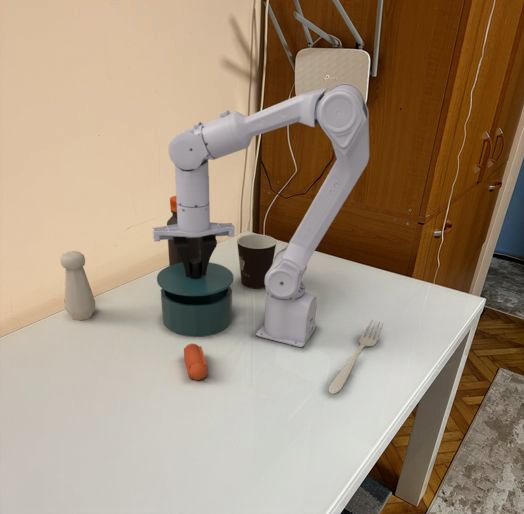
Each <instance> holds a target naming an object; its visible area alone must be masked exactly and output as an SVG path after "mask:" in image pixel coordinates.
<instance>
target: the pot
mask: <svg viewBox="0 0 524 514" xmlns="http://www.w3.org/2000/svg"><path fill="white" fill-rule="evenodd" d="M160 299H161V313H162V320H163V325H164V326H165V328H166V329H168V330H169V331H170V332H172V333H174V334H176V335H180V336H183V337H194V338H195V337H207V336H208V337H209V336H212V335H216V334H218V333H220V332H223V331H224V330H225V329H227V328H228V327H229V326H230V324H231V322H232V318H233V288H232V286H230V287H228V288H227V289H225V290H223V291H221V292H218V293H215V294H211V295H204V296H184V295H177V294H173V293H170V292H168V291H166V290H164V289H162V288H161V290H160Z"/></svg>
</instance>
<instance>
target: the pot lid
mask: <svg viewBox="0 0 524 514" xmlns="http://www.w3.org/2000/svg"><path fill="white" fill-rule="evenodd" d="M189 268H190V277H186V275H185V271H184V265H183V262H182V263H177V264H174V265H171V266H169V265H168V266H166V267H164V268H163V269H161V270H160V271H159V272H158V274H157V276H156V282H157V285H158V286H159V287H160V288H161V289H164V290H166V291H168V292H170V293H173V294H177V295H184V296H204V295H211V294H215V293H218V292H221V291H223V290H225V289H227V288H228V287H232V285H233V283H234V277H235V276H234V274H233V272H232V271H231V270H230V269H229V268H228V267H226V266H225V265H224V266H223V265H222V264H219V263H215V262H210V261H209V263H208V267H207V271H206V275H203V276H202V263H201V260H200V259H197V258H193V259H190V260H189Z"/></svg>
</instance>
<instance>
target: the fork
mask: <svg viewBox="0 0 524 514" xmlns="http://www.w3.org/2000/svg"><path fill="white" fill-rule="evenodd" d="M372 323H373V319H371V321H370V322H369V324H368V325H367V327H366V328H365V330H364V331H363V333H362V334H361V336H360V337H359V339H358V343H359V344H360V345H359V346H358V348H357V349H356V351H355V352H354V354H353V355H352V356H351V358H350V359H349V360H348V361H347V363H346V364H345V365H344V367H343V368H342V369H341V370H340V372H339V373H338V374H337V375H336V377H335V378H334V379H333V380H332V381H331V383H330V384H329V385H328V392H329V394H331V395H335V394H337V393H339V392H340V391H341V390H342V388H343V387H344V385H345V384H346V381H347V379H348V377H349V375H350V373H351V371H352V370H353V367H354V366H355V363H356V361H357V358H358V357H359V355H360V354H361V351H362V350H363V348H365V347H373V346H375V345H376V344H377V342H378V340H379V337H380V335H381V332H382V329H383V327H384V322H382V324H381V326H380V323H381V322H380V321H378V323H377V320H375V322H374V323H373V324H372ZM376 323H377V325H376ZM375 325H376V327H375ZM374 328H375V329H374ZM368 330H369V331H368ZM373 330H374V331H373ZM372 331H373V333H372ZM376 333H377V334H376ZM371 334H372V335H371ZM375 335H376V336H375Z"/></svg>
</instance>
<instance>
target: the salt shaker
mask: <svg viewBox="0 0 524 514" xmlns="http://www.w3.org/2000/svg"><path fill="white" fill-rule="evenodd" d="M85 264H86V257H85V255H84V254H83V253H82V252H81V251H76V250H75V251H74V250H73V251H72V250H71V251H65V252H64V253H62V254H61V255H60V265H61V266H62V268H63V269H65V271H64V273H65V274H64V278H65V279H64V310H65V311H66V312H67V313H68V314H69V316H70V318H72V319H71V320H76V321H84V320H88V319H90V318H92V315H93V314H94V311H95V308H96V299H95V297H94V294H93V291H92V287H91V285H90V282H89V279H88V276H87V274H86V272H85V271H86V270H85V268H84V266H85Z"/></svg>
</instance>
